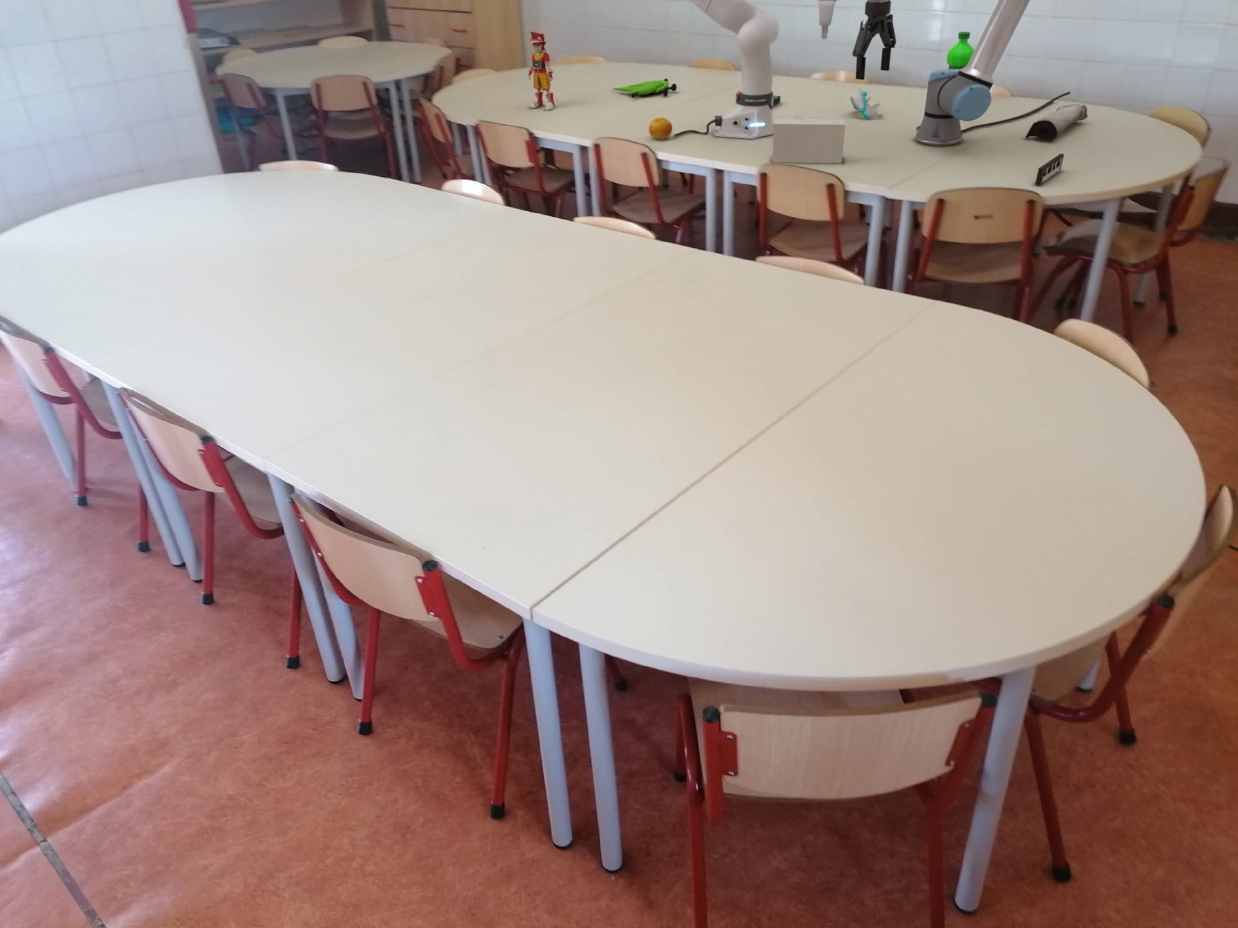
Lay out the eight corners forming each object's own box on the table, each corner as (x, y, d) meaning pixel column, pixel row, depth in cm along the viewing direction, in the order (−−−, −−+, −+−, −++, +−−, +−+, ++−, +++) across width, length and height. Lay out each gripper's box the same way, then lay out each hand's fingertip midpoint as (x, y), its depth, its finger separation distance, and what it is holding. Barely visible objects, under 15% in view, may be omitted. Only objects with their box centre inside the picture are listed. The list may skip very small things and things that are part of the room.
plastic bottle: (973, 101, 354) (984, 32, 339) (955, 106, 349) (966, 36, 335) (952, 97, 361) (962, 29, 346) (934, 102, 356) (944, 33, 342)
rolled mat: (1054, 109, 326) (1079, 92, 318) (1068, 130, 327) (1093, 113, 318) (1021, 132, 309) (1046, 114, 301) (1035, 154, 309) (1061, 137, 301)
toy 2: (686, 85, 398) (631, 84, 414) (685, 72, 395) (629, 72, 411) (651, 104, 381) (596, 103, 397) (650, 92, 378) (594, 91, 394)
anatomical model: (845, 88, 347) (871, 81, 346) (848, 115, 353) (873, 108, 352) (857, 97, 335) (883, 90, 334) (859, 125, 341) (885, 118, 340)
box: (772, 162, 303) (773, 124, 295) (773, 157, 308) (775, 119, 300) (841, 163, 297) (844, 124, 290) (842, 158, 302) (845, 119, 295)
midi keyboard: (1039, 185, 269) (1043, 168, 266) (1035, 184, 270) (1038, 168, 267) (1060, 170, 279) (1064, 154, 277) (1056, 169, 280) (1060, 153, 277)
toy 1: (525, 109, 381) (517, 32, 364) (534, 104, 388) (527, 28, 371) (550, 110, 377) (543, 32, 360) (559, 105, 384) (553, 28, 367)
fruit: (641, 130, 330) (653, 111, 327) (649, 133, 338) (660, 114, 335) (659, 143, 329) (671, 123, 326) (666, 146, 337) (678, 126, 334)
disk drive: (765, 111, 358) (780, 102, 368) (766, 104, 356) (780, 95, 366) (742, 109, 363) (757, 100, 373) (742, 102, 361) (757, 93, 371)
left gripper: (819, -15, 298) (816, 30, 306) (817, -6, 282) (813, 42, 290) (838, -16, 297) (835, 30, 305) (837, -7, 281) (833, 41, 289)
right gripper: (864, 8, 263) (859, 84, 275) (912, -6, 276) (905, 68, 288) (843, 6, 267) (839, 82, 279) (891, -7, 280) (884, 65, 293)
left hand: (824, 36), depth 297 cm, fingers open, 8 cm apart
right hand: (872, 75), depth 284 cm, fingers open, 13 cm apart
